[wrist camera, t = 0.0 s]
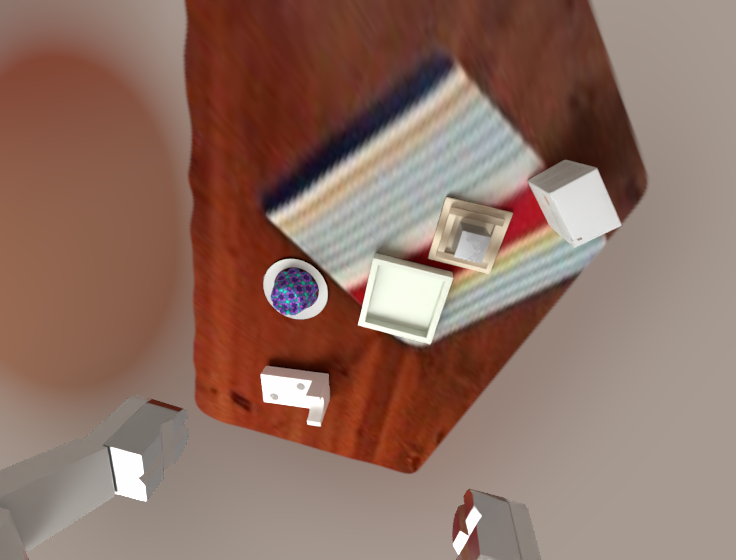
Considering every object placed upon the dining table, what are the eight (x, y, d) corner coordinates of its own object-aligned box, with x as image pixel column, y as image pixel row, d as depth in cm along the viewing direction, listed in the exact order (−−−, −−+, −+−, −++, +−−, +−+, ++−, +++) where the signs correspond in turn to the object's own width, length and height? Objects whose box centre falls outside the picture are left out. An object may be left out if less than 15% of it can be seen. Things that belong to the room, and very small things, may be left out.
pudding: (335, 313, 65) (328, 329, 60) (276, 319, 67) (264, 334, 63) (319, 252, 60) (310, 264, 56) (256, 261, 63) (242, 273, 58)
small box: (587, 207, 51) (624, 226, 41) (548, 226, 53) (575, 249, 43) (565, 157, 49) (599, 166, 39) (525, 179, 50) (548, 193, 41)
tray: (375, 252, 58) (373, 257, 56) (452, 271, 58) (453, 277, 55) (360, 318, 64) (358, 325, 62) (430, 336, 63) (430, 344, 61)
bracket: (329, 370, 70) (319, 397, 64) (330, 398, 73) (320, 426, 67) (268, 362, 72) (251, 388, 65) (270, 389, 75) (255, 416, 68)
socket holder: (446, 196, 53) (446, 198, 51) (511, 212, 52) (514, 215, 51) (427, 256, 57) (427, 260, 56) (488, 271, 57) (490, 276, 55)
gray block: (459, 221, 53) (462, 230, 49) (485, 227, 53) (491, 237, 49) (451, 245, 55) (454, 256, 51) (477, 252, 55) (481, 263, 50)
